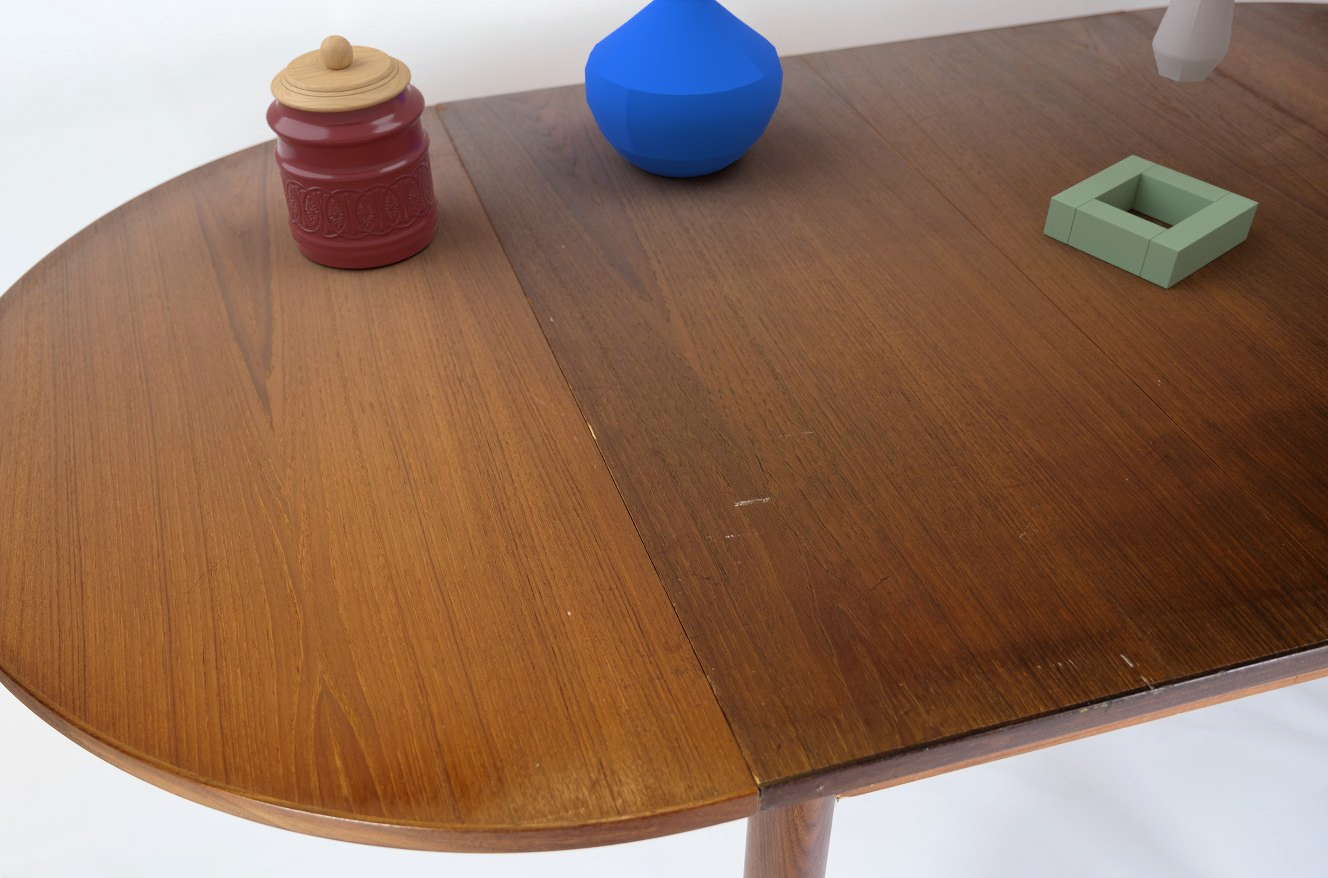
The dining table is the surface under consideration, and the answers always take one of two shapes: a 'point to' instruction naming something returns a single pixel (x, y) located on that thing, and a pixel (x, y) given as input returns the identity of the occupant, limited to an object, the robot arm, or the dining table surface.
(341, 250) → the kitchen canister
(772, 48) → the vase
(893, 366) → the dining table surface
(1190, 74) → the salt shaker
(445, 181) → the dining table surface
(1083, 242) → the pad socket
